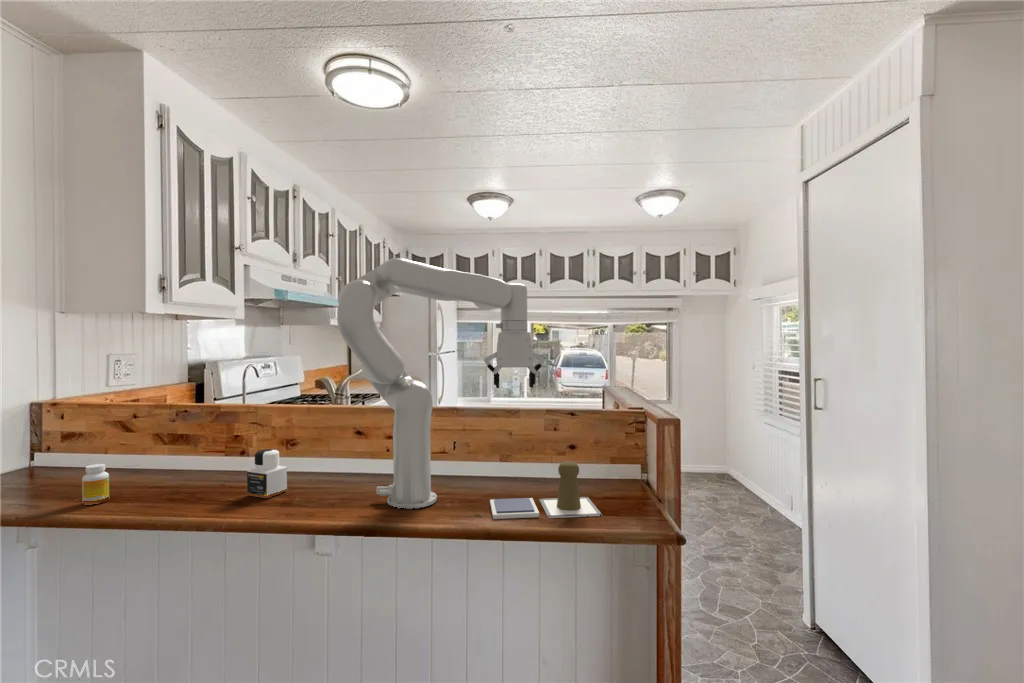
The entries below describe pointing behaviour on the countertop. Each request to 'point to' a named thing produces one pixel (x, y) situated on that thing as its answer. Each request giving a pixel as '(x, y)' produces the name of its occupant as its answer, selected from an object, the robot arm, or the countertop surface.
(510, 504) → the ink pad
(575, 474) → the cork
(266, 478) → the medicine bottle
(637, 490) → the countertop surface
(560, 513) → the marked square
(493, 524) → the countertop surface
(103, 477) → the supplement bottle
